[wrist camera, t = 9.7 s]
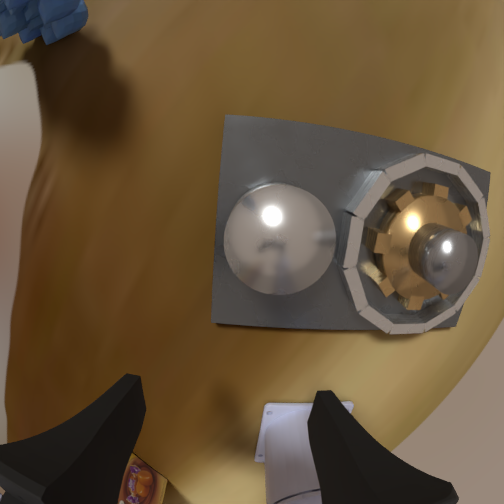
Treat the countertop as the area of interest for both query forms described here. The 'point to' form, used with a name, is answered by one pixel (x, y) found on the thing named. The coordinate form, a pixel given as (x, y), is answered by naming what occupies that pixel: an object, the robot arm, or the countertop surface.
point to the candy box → (141, 484)
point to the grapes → (42, 18)
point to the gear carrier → (324, 226)
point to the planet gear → (422, 246)
